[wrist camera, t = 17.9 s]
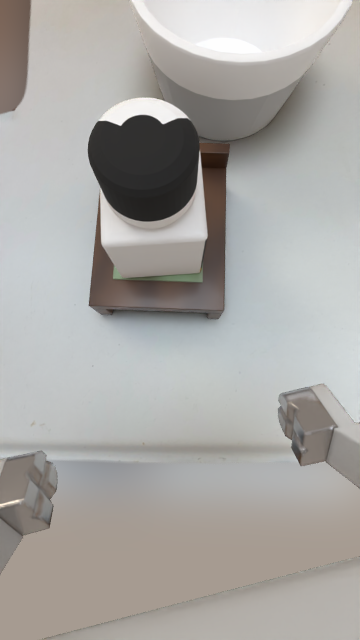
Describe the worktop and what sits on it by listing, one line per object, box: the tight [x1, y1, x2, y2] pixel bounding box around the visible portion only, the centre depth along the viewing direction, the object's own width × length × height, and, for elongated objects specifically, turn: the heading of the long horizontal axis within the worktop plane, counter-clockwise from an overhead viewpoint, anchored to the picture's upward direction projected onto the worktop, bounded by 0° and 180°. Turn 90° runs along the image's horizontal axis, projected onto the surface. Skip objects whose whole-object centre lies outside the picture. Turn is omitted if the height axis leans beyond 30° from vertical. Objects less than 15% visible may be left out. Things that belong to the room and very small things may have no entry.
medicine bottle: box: [88, 98, 208, 278], centre depth 21 cm, size 7×7×12 cm
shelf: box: [89, 143, 230, 319], centre depth 28 cm, size 12×15×6 cm
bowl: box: [129, 0, 353, 141], centre depth 29 cm, size 19×19×11 cm
